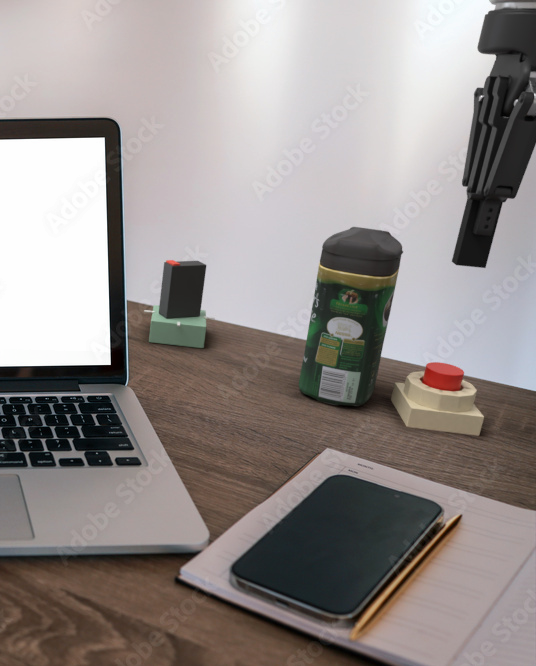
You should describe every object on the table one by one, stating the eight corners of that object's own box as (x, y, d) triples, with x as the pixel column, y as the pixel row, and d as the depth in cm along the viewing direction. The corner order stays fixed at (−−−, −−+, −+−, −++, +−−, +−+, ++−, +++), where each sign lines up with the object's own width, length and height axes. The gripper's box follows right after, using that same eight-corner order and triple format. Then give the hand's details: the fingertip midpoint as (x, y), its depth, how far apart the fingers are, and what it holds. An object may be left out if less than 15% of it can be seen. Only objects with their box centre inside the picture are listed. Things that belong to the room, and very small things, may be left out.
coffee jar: (308, 370, 94) (336, 218, 88) (377, 386, 90) (411, 229, 84) (288, 397, 86) (317, 232, 80) (363, 415, 82) (400, 244, 76)
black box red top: (191, 311, 104) (198, 258, 101) (200, 316, 102) (207, 263, 99) (158, 313, 102) (164, 260, 100) (166, 318, 100) (172, 264, 98)
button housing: (457, 408, 85) (466, 374, 84) (479, 436, 79) (489, 400, 78) (390, 400, 87) (398, 367, 85) (406, 427, 80) (415, 392, 79)
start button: (453, 382, 83) (458, 364, 82) (464, 395, 80) (469, 377, 79) (417, 378, 84) (422, 360, 83) (427, 391, 80) (431, 372, 80)
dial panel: (210, 329, 106) (213, 307, 105) (212, 352, 98) (215, 329, 97) (143, 322, 108) (146, 300, 107) (139, 344, 99) (142, 321, 98)
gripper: (465, 11, 76) (411, 246, 84) (516, 1, 64) (448, 277, 72) (548, 15, 75) (485, 253, 83) (617, 6, 63) (535, 286, 71)
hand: (468, 264), depth 77 cm, fingers closed
